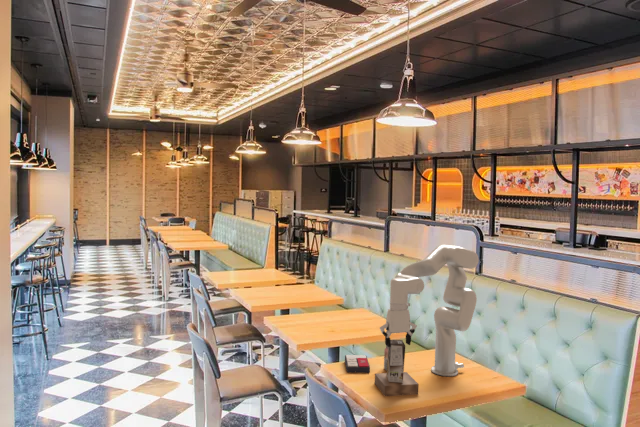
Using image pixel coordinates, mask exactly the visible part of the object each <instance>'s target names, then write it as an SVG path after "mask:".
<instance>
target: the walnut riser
mask: <svg viewBox="0 0 640 427" xmlns="http://www.w3.org/2000/svg"><path fill="white" fill-rule="evenodd" d="M374 385H375V386H376V387H377V389H378V390H379V391H380V392H381V393H382V395H383V396H384V397H396V396H397V397H398V396H413V395H419V383H418V382H417V381H416V380H415V379H414V378H413V377H412V376H411V375H410V374H409V373H408V372H407V371H404V373H403V383H398V382H389V381H388V377H387V372H384V373H383V372H382V373H380V372H379V373H374Z"/></svg>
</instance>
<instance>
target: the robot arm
mask: <svg viewBox="0 0 640 427" xmlns="http://www.w3.org/2000/svg"><path fill="white" fill-rule="evenodd" d="M478 264H479V255H478V254H477V252H476V251H473V250H472V249H467V248H465V247H461V246H458V245H449V244H439V245H438V246H436V247H435V248H434V249H433V250H432V251H431V252H430V253H429V254H428V255H426V256H425V257H424V258H423V259H421V260H420V261H415V262H414V263H412V264H411V263H410V264H408V265H406V266H404V267H403V268H402V269H401V270H400V271H399V272H398V273H397V274H396V275H395V276H394V278H391V280H390V290H389V291H390V292H389V293H390V295H389V296H390V298H389V301H390V302H389V306H390V307H389V308H388V309H387V312H386V320H385V323H384V324H383V325H381V326H379V330H380V332H381V334H382V335H383V336H384V337H385V338H384V343H385V346H386V345H387V346H388V347H390V340H391V335H393V334H402V333H403V334H404V333H406V334H405V344H407V345H408V346H410V345H411V343H412V336H413V334H414V333H415V331H416V329H417V327H418V325H417V324H415V323H413V322H411V316H410V309H409V307H410V306H411V303H410V302H408V301H409V298H408V296H409V295H418V294H421V293H422V292H423V290H424V289H425V282H424V280H423V279H422V277H423V278H425V277H429V276H433V275H436V274H437V273H438V272H440V270H441V269H442V268H444V266H447V269H448V278H447V281H446V285H445V289H444V292H443V296H442V299H443V301H444V303H446V304H447V305H449V306H445V305H444V306H442V305H441V306H439V307H437V308H436V309H435V310H434V314H433V319H434V320H433V321H434V325H435V326H434V327H435V344H434V346H435V347H434V348H435V350H434V366H432V367H431V368H430V369H431V370H430V371H431V372H432V373H433V374H435V375H438V376H441V377H455V376H458V374H459V370H458V369H461V368H465V365H464V363H459V362H457V361H456V350H457V349H456V347H457V346H456V344H457V336H456V332H455V330H456V331H458V332H465V331H467V330H468V329H469V328H470V327H471V323H472V319H473V316H474V313H475V310H476V306H477V301H478V300H477V294H476V292H475V291H474V290H473V289H471V288H468V287H466V283H467V281H468V280H467V279H468V278H467V274H466V270H465V269H469V270H473V269H475V268H476V267H477V266H478ZM450 306H453V307H450ZM454 307H457V308H459V309H457V308H454ZM385 330H386V331H385Z"/></svg>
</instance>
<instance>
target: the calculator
mask: <svg viewBox="0 0 640 427" xmlns="http://www.w3.org/2000/svg"><path fill="white" fill-rule="evenodd" d="M344 364H345V369H346V372H347V373H356V374H358V373H360V374H361V373H364V374H368V373H370V372H371V367H370V362H369V360H368V356H367V355H365V354H346V355H344Z"/></svg>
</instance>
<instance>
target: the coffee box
mask: <svg viewBox="0 0 640 427" xmlns="http://www.w3.org/2000/svg"><path fill="white" fill-rule="evenodd" d="M405 344H406V343H405V342H404V341H403V340H402V339H390V347H388V359H387V371H386V373H387V377H388V381H389V382H398V383H403V373H404V372H405V357H406V356H405V355H406V345H405Z"/></svg>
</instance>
